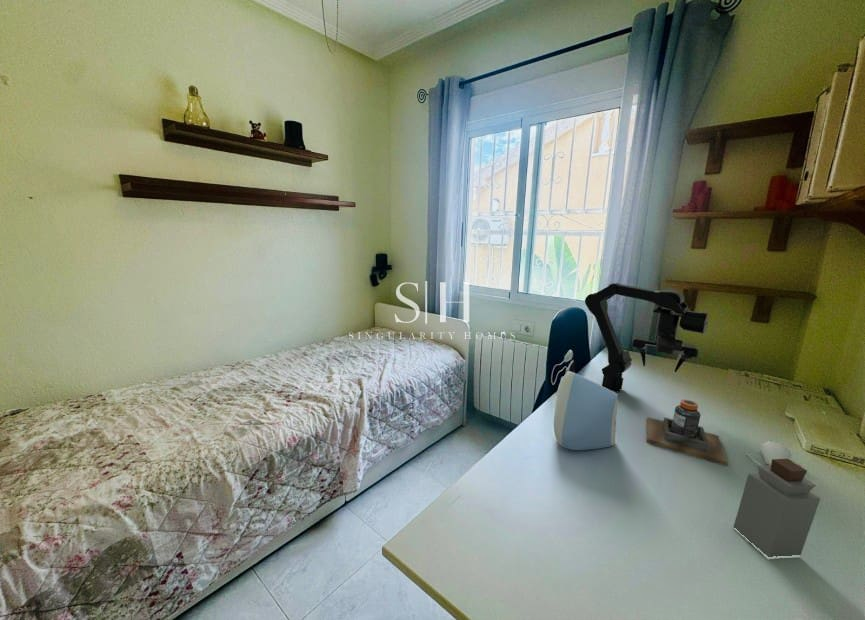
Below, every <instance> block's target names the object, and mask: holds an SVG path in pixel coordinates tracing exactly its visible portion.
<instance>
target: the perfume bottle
mask: <svg viewBox="0 0 865 620" xmlns="http://www.w3.org/2000/svg"><path fill="white" fill-rule="evenodd" d="M757 468H758V472H750V473H748V475H747V478H746V481H745V485H744V488H743V492H742V495H741V499H740V502H739V506H738V510H737V513H736V516H735V521H734V523H733V527H734V528H736V529H737V530H738V531H739V532H740V533H741V534H742V535H744V536H745V537H746V538H747V539H748V540H749V541H750V542H751V543H753V544H754V545H755V546H756V547H757V548H759V549H760V550H761V551H762V552H763V553H764V554H766V555H767V556H768V557H773V556H776V557H777V556H792V555H802V553H803V550H804V548H805V547H804V546H805V544H806V541H807V538H808V535H809V532H810V530H811V526H812V524H813V521H814V519H815V515H816V513H817V509H818V507H819V504H820V501H821V498H820V497H819V496H817V495H816V494H814V493H813V492H812V490H813V489H814V488H815V487H816V486H817V485H816V484H815V483H814V482H812V481H810V480H808V479H807V478H805V477H806V476H805V475H807V471H808V470H807V469H805V468H804V467H802V466H801V465H799V464H797V463H795V462H794V461H792V460H790V459H772V463H771V465H767V464H766V465H762V466H759V465H757ZM804 476H805V477H804Z"/></svg>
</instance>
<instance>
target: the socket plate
mask: <svg viewBox="0 0 865 620" xmlns="http://www.w3.org/2000/svg"><path fill="white" fill-rule="evenodd" d="M645 422H646V443H647V444H650V445H653V446H658V447H660V448H663V449H668V450H671V451H673V452H674V451H675V452H678V453H681V454H685V455H688V456H691V457H694V458H699V459H702V460H704V461H705V460H706V461H709V462H710V463H711V462H712V463H714V464H715V463H716V464H719V465H722V466H725V467H727V466H728V460H727V457H726V454H725V451H724V449H723V446H722V443H721V442H722V441H720V437H719V435H718V434H717V435H716V434H714V433H713V434H712V433H710V432H705V429H704V427H703V426H701V425H698V429H697V434H696V439H693V438H689V437H686V436H682V435H678V434H675V433H671V427H672V422H673V418H668V417H663V420H659V419H656V418H653V417H648V416H646V421H645Z"/></svg>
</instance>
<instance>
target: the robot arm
mask: <svg viewBox="0 0 865 620" xmlns="http://www.w3.org/2000/svg"><path fill="white" fill-rule="evenodd" d="M615 295H618V296H623V297H627V298H633V299H636V300H642V301H646V302H649V303H652V304H655V305H656V306H658V307H657V308H655V309H653V310H652V313H655V314H659V315H658V320H657V324H656V331H655V336H654V341H652V340H647V338H646V337H644V336H643V337H642V336H637V335H634V336H633V337H632V342H631V347H632V348H635V350H638V351H639V353H640V357H641V360H642V366H643V367H645V366H646V347H651V348H655V351H656V352H658V353H662V354H663V353H664V354H665V353H666V354H667V355H673V354H674V352H679V353H678V355H677V360H676V362H675V366H674V370H673V371H674V373H677V371H678V370H679V369H680V367H681V366H682V365H683V363H684V362H685V361H687V360H688V359H690V360H691V359H693V358H698V355H699V349H698V347H697V346H696V345H695V344H689V343H684V342H683V340H682V339H676V337H677V332H678V328H679V327H680V328H681V329H682V331H688V332H690V333H691V332H692V333H698V334H703V335H704V334H705V333H706V331H707V329H708V324H709V321H708V320H709V313H708V312H704V311H703V312H702V311H700V312H699V311H693V310H692V311H691V309H690V308H689V306H688V304H687V303H686V301H685V296H684V294H683V293H682V292H681V291H679V290H675V289H648V288H644V287H643V288H642V287H638V286H632V285H626V284H621V283H618V282H615V283H610V284H609V285H608V286H606V287H604V288H602V289H601V290H599V291H597V292H594V293H589V294H587V295H586V297H585V299H584V304H585V306H586V307H587V309H588V310H589V312H590V313H591V314H592V315H593V316H594V317H595V321H596V322H597V325H598V328H599V330H600V333H601V336H602V338H603V341H604V344H605V346H606V349H607V363H608V364H607V365H606V366H604V367H603V368H601V372H602V374H603V377H602V383H601V386H603V387H605V388H607V389H609V390H611V391H613V392H615V393H620V392H621V391H622V389H623V385H624V377H623V373H625V372H626V371H627V370H629V369H630V368H631V366H632V361H633V359H632V357H631V356H630V355H631V354H630V352H629V350H624V349H623V348H622V347H621V344H620V341H619V340H618V337H617V335H616V332H615V329H614V327H613V324H612V322H611V319H610V316H609V313H608V310H609V308H608V307H609V305H608V300H609V299H611V298H613V297H614V296H615ZM678 326H679V327H678Z"/></svg>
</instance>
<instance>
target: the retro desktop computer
mask: <svg viewBox="0 0 865 620" xmlns="http://www.w3.org/2000/svg"><path fill="white" fill-rule="evenodd" d="M573 357H574V353H573V350H572V349H569V350H568V351H567V353H566V354H565V355H564V357H563V361H562V362H561V363H559V364H555V365H554V367H553V369H552V372H551V375H553V373H554V370H555V368H556V366H561V365H562V364H563V363H567V362H569V361H570V362H569V364H568V367H567V366H564V367H563V368H562V369H561V370H559V371H558V372H557V374H556V378H555V380H554V382H553V376H551V377H550V379H551V380H550V381H551V385H555V384H556V382H557V378H558V375H559V373H560V372H562V371H563V370H565V374H564V376H561V377H560V382H559V384H558V388H557V392H556V400H555V401H556V402H555V405H554V407H555V409H554V416H553V417H554V418H553V430H554V436H555V439H556V441H557V443H558V444H559V445H560V446H561V447H563V448H565V449H567V450H569V451H570V450H571V451H588V450H596V449H603V448H609V447H611V446H614V445H615V444H616V443H615V442H616V429H617V415H618V414H617V413H618V400H619V395H618V393H617V392H615V391H611V390H609V389H607V388H605V387H603V386H602V384H598V383H597V382H594V381H593V380H591V379H588V378H587V377H585V376H582V375H580V374H578V373H576V371H575V368H576V367H575V361H574V359H573ZM565 368H566V369H565ZM614 443H615V444H614Z"/></svg>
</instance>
